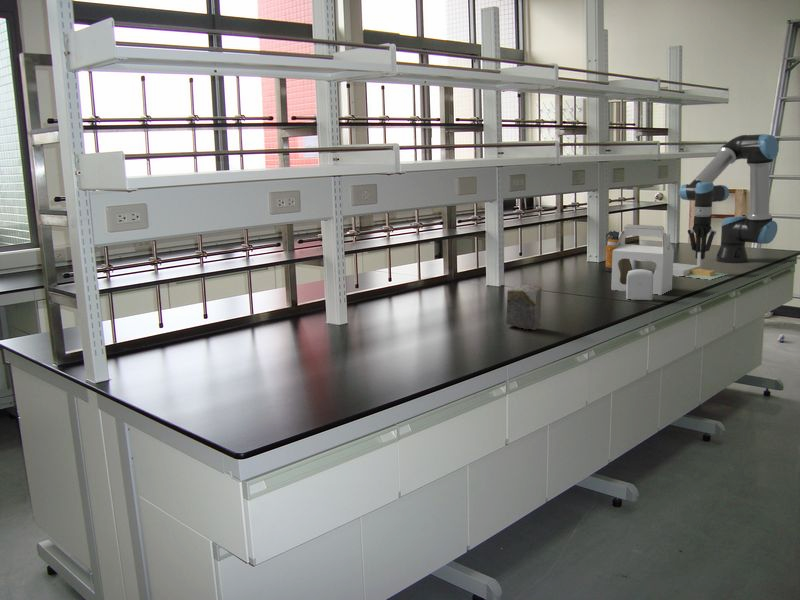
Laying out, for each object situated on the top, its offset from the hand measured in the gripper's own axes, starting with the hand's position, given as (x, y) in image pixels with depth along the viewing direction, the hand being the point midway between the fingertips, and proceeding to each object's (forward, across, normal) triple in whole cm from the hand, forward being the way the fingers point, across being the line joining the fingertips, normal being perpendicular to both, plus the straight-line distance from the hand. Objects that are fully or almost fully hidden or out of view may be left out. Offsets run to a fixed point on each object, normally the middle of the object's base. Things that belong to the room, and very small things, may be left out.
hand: (699, 265), depth 346 cm
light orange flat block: (+4, +2, 0) cm, 4 cm away
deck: (+4, -10, -1) cm, 11 cm away
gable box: (+5, -2, -50) cm, 50 cm away
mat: (+4, +4, -1) cm, 6 cm away
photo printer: (+5, +7, -68) cm, 69 cm away
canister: (+5, -36, -16) cm, 40 cm away
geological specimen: (+5, +1, -136) cm, 136 cm away
